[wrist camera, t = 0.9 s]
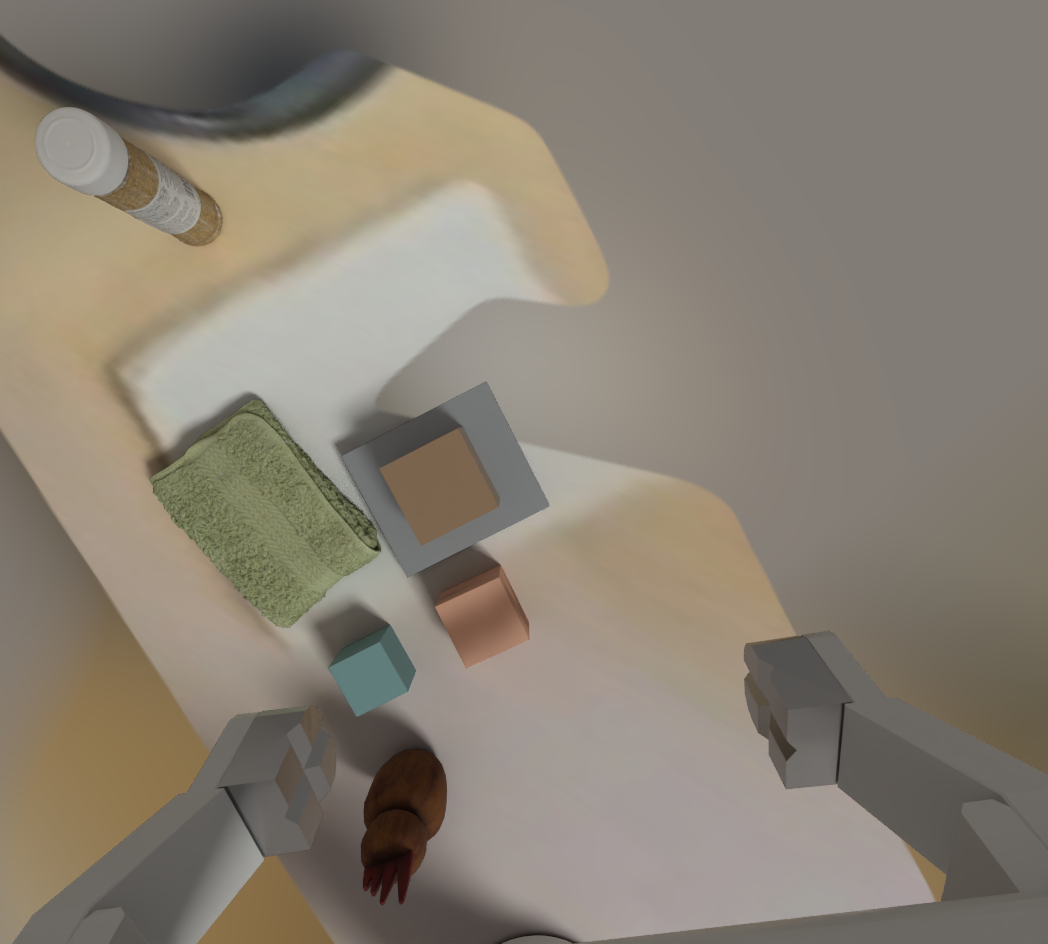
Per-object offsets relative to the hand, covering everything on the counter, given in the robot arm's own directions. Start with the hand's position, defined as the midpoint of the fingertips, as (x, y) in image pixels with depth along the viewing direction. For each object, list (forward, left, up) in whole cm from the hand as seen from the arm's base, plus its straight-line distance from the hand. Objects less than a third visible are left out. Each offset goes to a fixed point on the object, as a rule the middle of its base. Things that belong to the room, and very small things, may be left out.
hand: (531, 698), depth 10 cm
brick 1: (-10, +20, -39) cm, 45 cm away
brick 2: (-10, +9, -39) cm, 41 cm away
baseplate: (+2, +6, -39) cm, 39 cm away
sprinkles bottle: (+31, +15, -39) cm, 52 cm away
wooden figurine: (-21, +22, -39) cm, 49 cm away
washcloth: (+7, +22, -40) cm, 46 cm away
